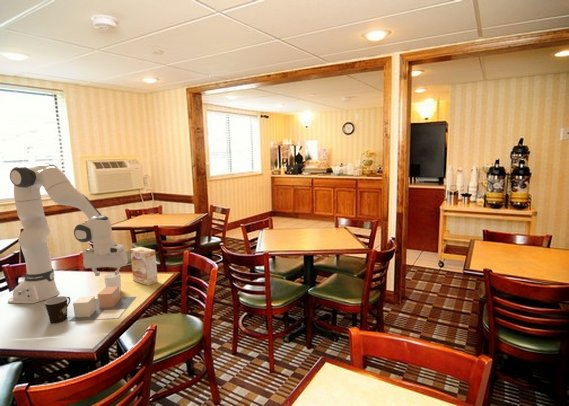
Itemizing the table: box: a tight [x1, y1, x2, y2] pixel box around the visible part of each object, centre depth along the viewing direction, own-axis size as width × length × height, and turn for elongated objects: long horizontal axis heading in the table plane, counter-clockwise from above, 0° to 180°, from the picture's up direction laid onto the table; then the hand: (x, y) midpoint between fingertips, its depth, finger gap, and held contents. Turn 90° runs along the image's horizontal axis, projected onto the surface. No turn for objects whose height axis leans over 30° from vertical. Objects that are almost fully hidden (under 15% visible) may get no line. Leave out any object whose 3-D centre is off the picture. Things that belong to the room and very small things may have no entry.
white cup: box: [103, 272, 122, 293], centre depth 187 cm, size 8×8×10 cm
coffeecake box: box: [129, 246, 159, 286], centre depth 202 cm, size 15×7×20 cm, turn 55°
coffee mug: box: [44, 295, 71, 325], centre depth 158 cm, size 12×9×10 cm
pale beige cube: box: [72, 296, 96, 317], centre depth 162 cm, size 7×7×7 cm
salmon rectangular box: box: [97, 286, 121, 308], centre depth 173 cm, size 7×9×7 cm
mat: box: [69, 296, 137, 322], centre depth 168 cm, size 22×24×1 cm
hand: (107, 275), depth 171 cm, fingers open, 8 cm apart
